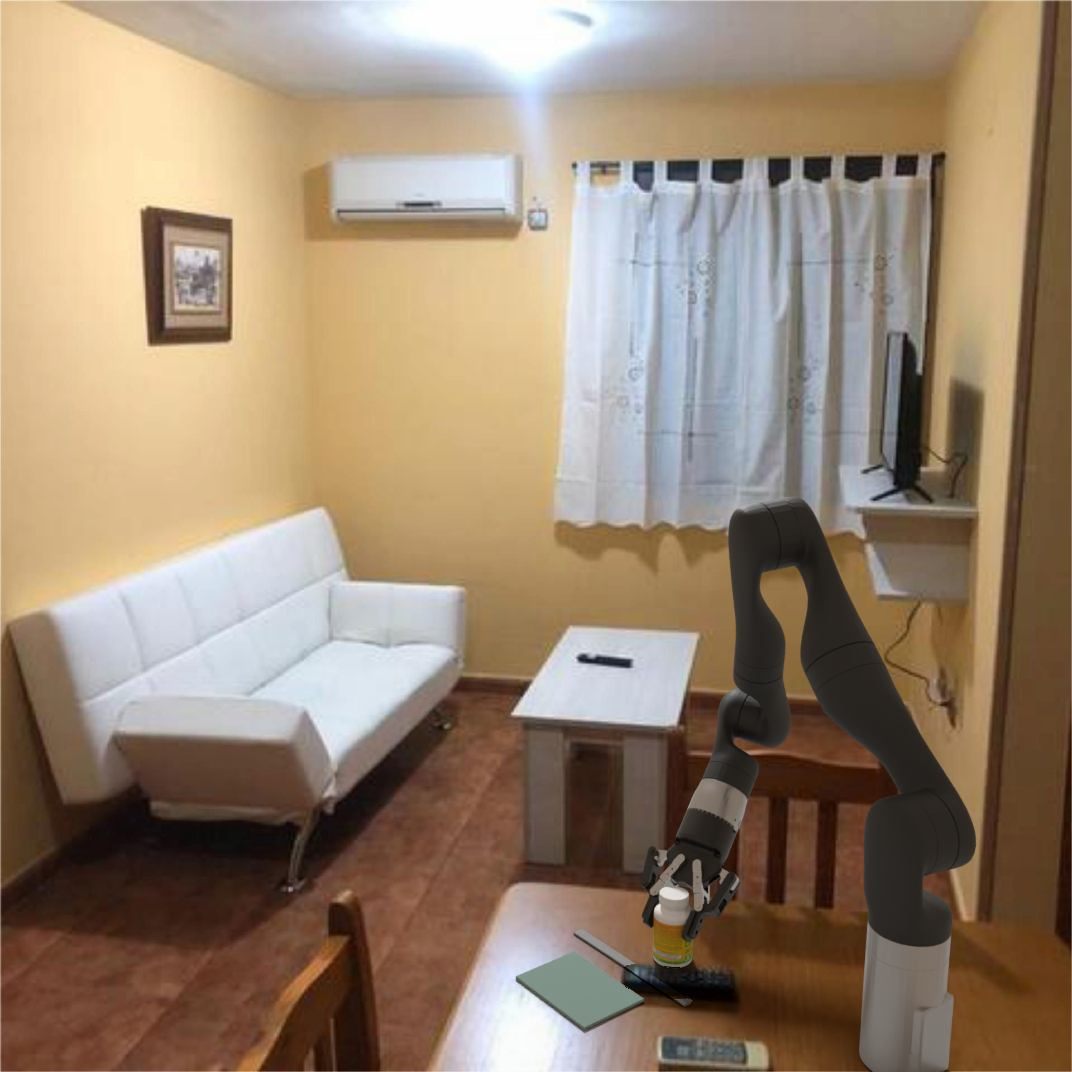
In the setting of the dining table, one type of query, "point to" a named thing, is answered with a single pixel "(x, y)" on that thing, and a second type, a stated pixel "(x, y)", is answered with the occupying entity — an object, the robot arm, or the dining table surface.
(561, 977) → the mat
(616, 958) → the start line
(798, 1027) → the dining table surface
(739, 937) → the dining table surface
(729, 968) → the dining table surface
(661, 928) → the supplement bottle
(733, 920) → the dining table surface
